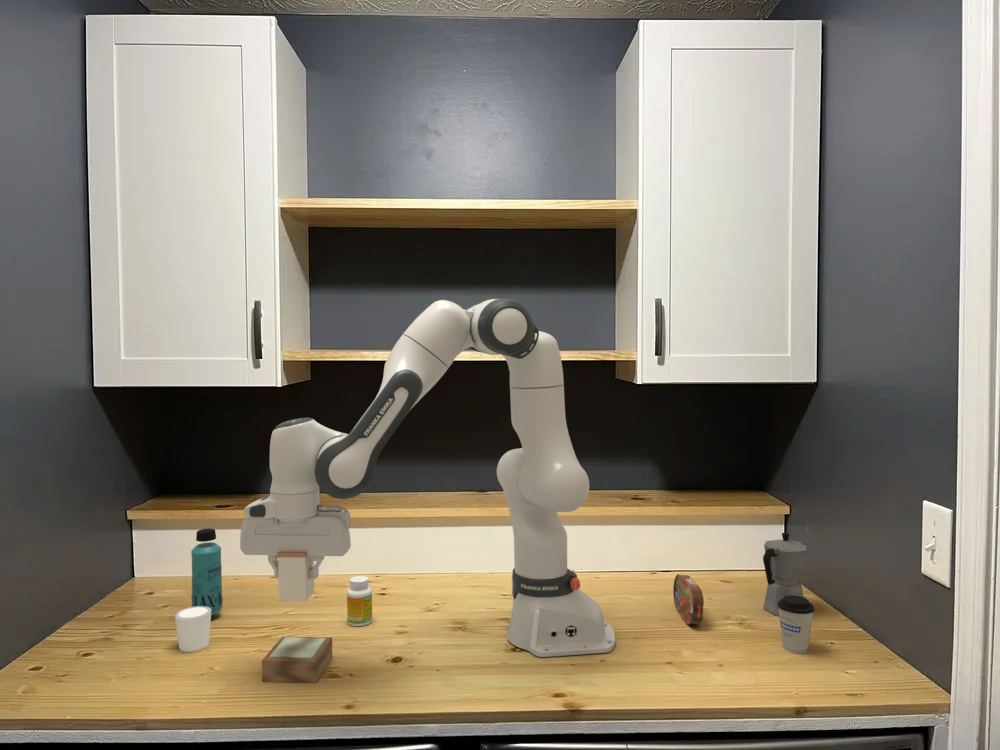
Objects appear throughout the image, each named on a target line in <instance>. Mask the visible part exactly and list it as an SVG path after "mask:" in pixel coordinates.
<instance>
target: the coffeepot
mask: <svg viewBox="0 0 1000 750" xmlns="http://www.w3.org/2000/svg"><path fill="white" fill-rule="evenodd" d="M781 536H782V539H773V540H766V541H765V542H764V545H763V546H764V554H763V556H762V561H763V566H764V567H763V568H764V570H765V577H766V581H767V587H766V593H765V597H764V598H765V599H764V602H763V609H764V610H765V611H766V612H768V613H769V614H771V615H774V616H776V617H780V616H779V607H778V606H777V603H778V602H779V600H781V599H783V598H784V596H788V595H795V596H800V597H804V593H803V587H802V586H803V585H802V583H801V582H802V580H801V579H802V575H803V571H804V566H805V565H804V564H805V560H806V553H807V548H808V546H807V545H804V544H803V542H802V541H798V540H789V537H790V533H788V532H786V531H785V532H781Z"/></svg>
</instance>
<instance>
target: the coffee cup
mask: <svg viewBox="0 0 1000 750" xmlns="http://www.w3.org/2000/svg"><path fill="white" fill-rule="evenodd" d="M777 606H778V607H779V616H778V617H779V623H780V633H781V634H780V635H781V640H782V641H781V642H782V648H783V650H785V651H786V652H789V653H791V654H792V653H793V654H798V655H799V654H800V655H801V654H802V655H803V654H806V653H807V652H808V650H809V643H810V638H811V637H810V636H811V631H812V623H813V618H814V612H815V611H816V609H815V606H814V605H813V604H812V603H811V602H810V601H809V599H807V598H806V597H804V596H803V597H800V596H795V595H788V596H784V598H783V599H781V600H779V602H778V603H777Z"/></svg>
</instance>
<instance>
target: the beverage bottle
mask: <svg viewBox="0 0 1000 750" xmlns="http://www.w3.org/2000/svg"><path fill="white" fill-rule="evenodd" d="M216 539H217V535H216V529H215V528H202V529H199V530H197V531H196V537H195V541H196V542H200V543H198V544H197V545H195V547H193V549H192V550H191V551H190V553H191V596H190V597H191V607H195V606H206V607H209V608H211V616H212V615H216V614H217V613H220V612H221V611H222V609H223V607H224V606H223V601H224V600H223V599H224V598H223V590H224V589H223V587H222V585H223V579H222V573H223V572H222V570H223V569H222V566H223V564H222V547H221V546H220V545H219V544H218V543H216V542H214V540H216ZM212 541H213V542H212ZM201 542H202V543H201Z"/></svg>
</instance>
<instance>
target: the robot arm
mask: <svg viewBox="0 0 1000 750" xmlns="http://www.w3.org/2000/svg"><path fill="white" fill-rule="evenodd" d="M467 349H470V350H473V351H475V352H478V353H481V354H482V353H483V354H486V355H491V356H500V355H501V356H502V357H503V358H504V359H505V361H506V363H507V366H508V370H509V391H510V392H509V393H510V394H509V395H510V396H509V397H510V419H511V425H512V427H513V429H514V431H515V432H516V434H517V436H518V438H519V441H520V444H521V448H513V449H510V450H508V451H506V452H505V453H504V454H503V455H502V456H501V457H500V459H499V461H498V464H497V467H496V477H497V480H498V482H499V484H500V486H501V488H502V490H503V493H504V495H505V499H506V503H507V508H508V512H509V516H510V520H511V524H512V530H513V531H512V533H513V552H514V553H513V555H514V557H513V559H514V560H513V561H514V562H513V563H514V566H513V567H514V568H513V569H512V574H511V595H512V599H513V601H512V609H511V616H510V621H509V626H508V630H507V632H506V638H507V640H508V641H509V643H511V644H512V645H514V646H515V647H518V648H520V649H522V650H526V651H528V652H530V653H531V654H532V655H533V656H536V657H538V658H549V657H550V658H551V657H562V656H563V657H564V656H565V657H566V656H576V655H577V656H578V655H588V654H589V655H590V654H601V653H602V654H605V653H610V652H611V651H612V650H614V649H615V646H616V634H615V630H614V629H613V627H612V626H611V624H609V623H608V622H606V621H605V619H604V618H605V617H604V613H603V611H602V608H601V607H600V605H599V604H598V602H597V601H595V599H593V598H592V597H590V595H588V594H586V593H585V592H583V591H582V590H581V589H580V588H581V580H580V579H579V578H578V574H576V572H575V570H574V569H569V568H568V535H567V530H566V529H565V527H564V525H563V523H562V522H561V519H560V517H559V514H558V513H571V512H574V511H576V510H578V509H579V508H581V507H582V506H583V505H584V503H585V502H586V500H587V498H588V496H589V491H590V480H589V476H588V474H587V472H586V470H585V469H584V468H583V467H582V466H581V464H580V462H579V460H578V458H577V456H576V452H575V450H574V447H573V444H572V440H571V437H570V434H569V433H570V432H569V429H568V425H567V419H566V405H565V404H566V403H565V402H566V401H565V385H564V383H565V382H564V381H565V380H564V369H563V364H562V363H563V362H562V357H561V352H560V349H559V344H558V341H557V339H555V337H554V336H553V335H551V334H549V333H548V332H544V331H540V330H539V329H538V328H537V326H536V324H535V323H534V322H533V319H532V317H531V314H530V313H529V312H528V310H527V309H526V307H525V306H523V304H521V303H520V302H518V301H517V300H513V299H512V298H511V299H510V298H506V297H505V298H503V297H502V298H492V299H486V300H484V301H482V302H479V303H476V304H474V305H472V306H469V307H467V308H463V307H461V306H460V305H459V304H457V303H455V302H453V301H451V300H446V299H440V300H436V301H434V302H433V303H431V304H430V305H429V306H428V307H426V309H424V310H423V311H422V312H421V313H420V314H419V315H418V316H417V317H416V318H415V319H414V320H413V321H412V323H411V324H410V325H409V326H408V327H407V328H406V329H405V331H404V332H403V334H402V335H401V336H400V338H399V339H398V340H397V341H396V343H395V344H394V346H393V348H392V349H391V351H390V353H389V355H388V357H387V359H386V361H385V363H384V367H383V377H382V382H381V384H380V388H379V391H378V393H376V397H375V399H373V401H372V403H371V404H370V406H368V408H367V409H366V411H365V412H364V414H363V415H362V416H361V417H360V419H359V420H358V422H357V423H356V424H355V426H354V427H353V428H352V430H351V431H350V432H349V433H345V432H341V431H338V430H334V429H331V428H329V427H326V426H325V425H322V424H321V423H319V422H317V421H316V420H315V419H314V418H311V417H299V418H294V419H290V420H289V419H288V420H286V421H283V422H280V423H279V424H278V425H276V427H275V428H274V429H273V430H272V433H271V437H270V443H269V471H270V473H271V477H272V479H271V485H270V488H269V492H270V494H269V495H268V496H265V497H261V498H259V499H257V500H255V501H253V502H251V503H249V504H248V505H247V506H245V507H244V508H243V509H244V510H243V511H244V512H243V513H244V514H243V516H244V517H245V518H246V519H244V520H243V522H242V524H241V527H240V536H239V537H240V540H239V548H240V551H241V552H242V554H243V555H246V556H267V561H268V563H269V565H270V566H271V567H272V569H273V571H274V572H273V573H274V579H279V574H278V557H277V553H278V552H306V553H307V556H313V557H314V562H315V563H314V567H311V568H310V569H309V570H308V574H309V575H308V578H309V579H314V580H317V579H318V578H319V573H320V572H319V571H320V570H319V568H320V566H321V565H322V563H323V561H324V560H325V557H344V556H345V555H346V554H347V553H348V552H349V551H350V550H351V541H352V540H351V533H350V525H351V514H350V512H349V510H348V509H347V508H344V507H343V505H323V504H321V505H320V500H321V499H320V490H321V491H322V492H323V493H324V494H326V495H328V496H329V497H332V498H334V499H339V500H348V499H353V498H356V497H357V496H360V495H361V494H362V493H364V492H365V490H367V489H368V487H369V486H370V484H371V482H372V480H373V478H374V474H375V470H376V465H377V461H378V459H379V457H380V454H381V451H382V450H383V449H384V448H385V446H386V444H387V443H388V441H389V440H390V439H391V438H392V436H393V434H394V433H395V432H396V430H398V429H397V428H398V427H399V426H400V424H401V423H402V422H403V420H404V419H405V418H406V417H407V415H408V414H409V412H410V411H411V410H412V409H413V408H414V407H415V405H417V404H418V403H419V402H420V400H422V398H423V397H424V396H425V395H426V394H427V393H429V391H430V390H431V389H432V388H433V387H434V386H435V385H436V384H437V383H438V382H439V380H440V379H442V377H443V376H444V375H445V373H446V372H447V371H448V369H449V368H450V366H452V365H453V363H454V361H455V359H456V358H457V357H458V356H459V355H460V354H461V353H462V352H463V351H465V350H467Z"/></svg>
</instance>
